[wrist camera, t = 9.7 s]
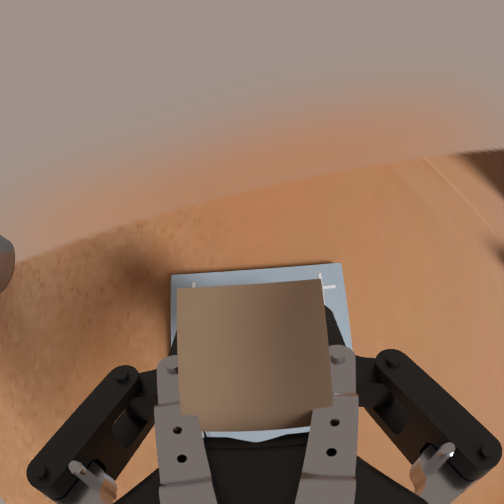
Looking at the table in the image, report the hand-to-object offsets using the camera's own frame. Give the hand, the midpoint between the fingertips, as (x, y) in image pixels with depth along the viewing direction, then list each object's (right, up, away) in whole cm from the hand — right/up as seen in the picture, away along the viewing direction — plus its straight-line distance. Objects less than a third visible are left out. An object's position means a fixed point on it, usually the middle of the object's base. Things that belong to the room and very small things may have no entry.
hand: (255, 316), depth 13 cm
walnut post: (0, -3, +3) cm, 5 cm away
